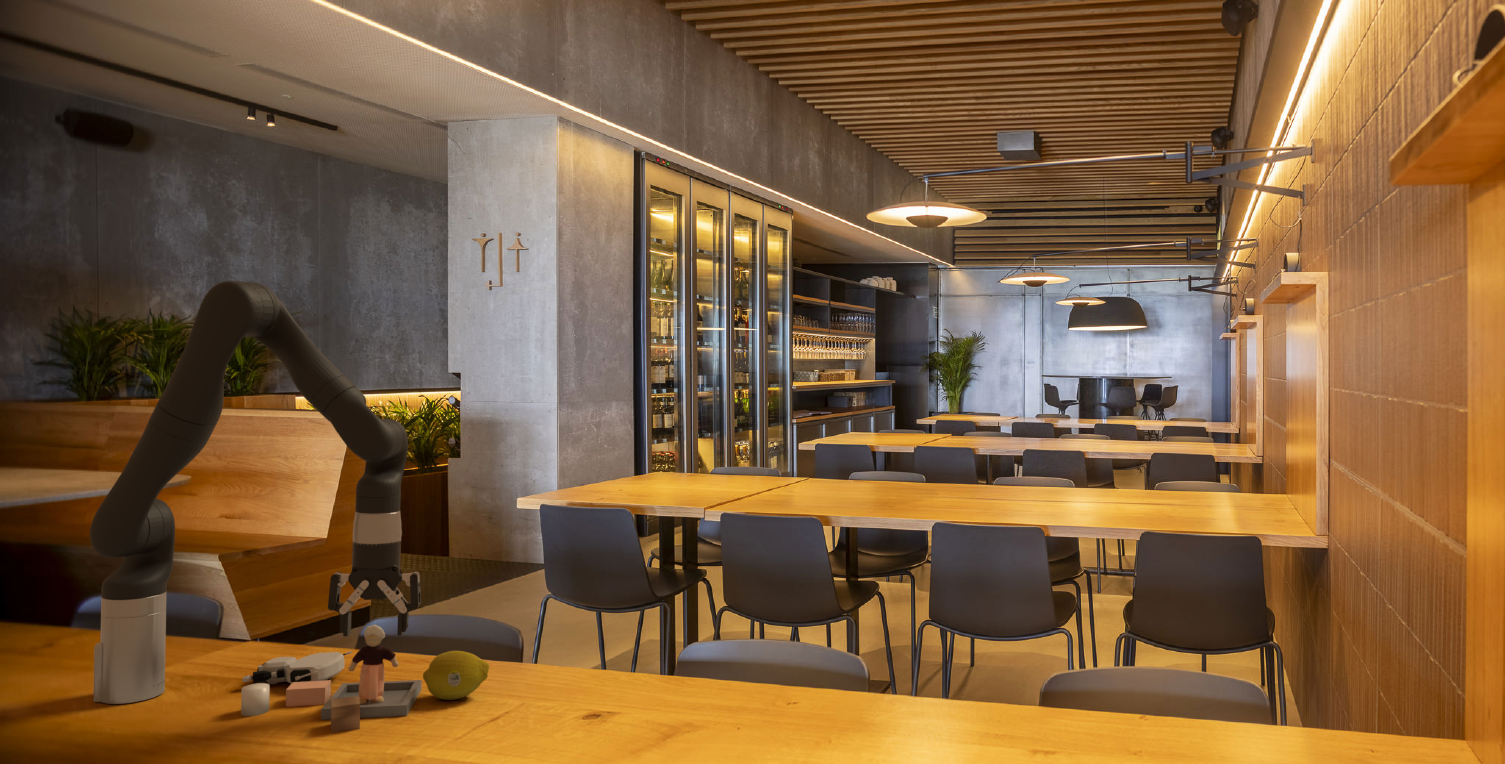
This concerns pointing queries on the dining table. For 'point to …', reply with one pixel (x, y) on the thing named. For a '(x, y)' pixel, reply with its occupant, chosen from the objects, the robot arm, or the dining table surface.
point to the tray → (395, 702)
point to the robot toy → (299, 668)
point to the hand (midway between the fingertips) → (374, 635)
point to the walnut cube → (345, 714)
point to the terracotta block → (308, 693)
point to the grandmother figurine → (372, 665)
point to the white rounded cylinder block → (255, 699)
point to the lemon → (455, 674)
